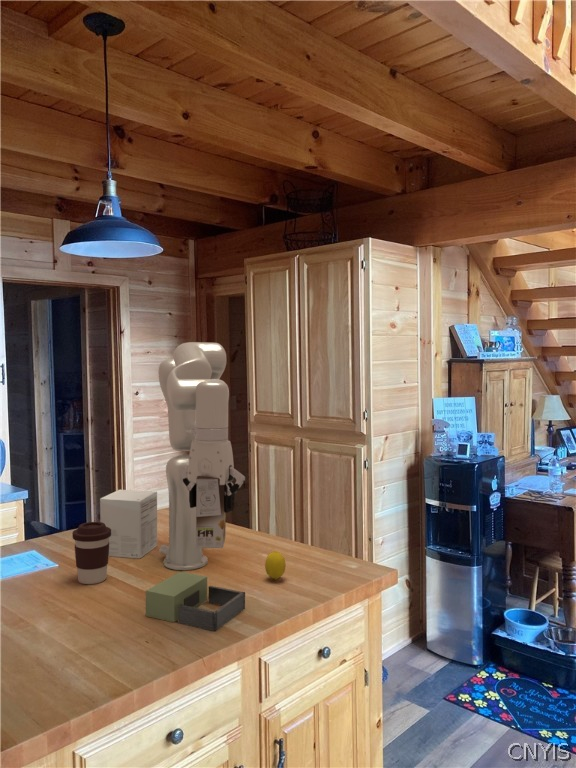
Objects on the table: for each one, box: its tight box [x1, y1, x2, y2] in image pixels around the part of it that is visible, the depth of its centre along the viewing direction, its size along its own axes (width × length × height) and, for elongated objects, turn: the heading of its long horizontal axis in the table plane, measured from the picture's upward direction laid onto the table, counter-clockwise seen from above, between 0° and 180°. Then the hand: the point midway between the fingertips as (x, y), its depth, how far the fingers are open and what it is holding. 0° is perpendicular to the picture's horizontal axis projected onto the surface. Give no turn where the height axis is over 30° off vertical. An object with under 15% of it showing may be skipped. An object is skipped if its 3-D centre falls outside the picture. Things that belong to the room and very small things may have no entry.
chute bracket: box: [177, 585, 246, 632], centre depth 146 cm, size 10×14×4 cm
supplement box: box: [99, 489, 158, 560], centre depth 192 cm, size 13×13×18 cm
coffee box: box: [196, 476, 227, 549], centre depth 144 cm, size 9×6×16 cm
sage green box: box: [145, 571, 208, 623], centre depth 150 cm, size 8×14×6 cm, turn 155°
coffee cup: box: [72, 521, 111, 585], centre depth 167 cm, size 10×10×15 cm
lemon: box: [264, 550, 286, 581], centre depth 169 cm, size 6×6×8 cm
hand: (211, 508), depth 144 cm, fingers closed on coffee box, 8 cm apart
